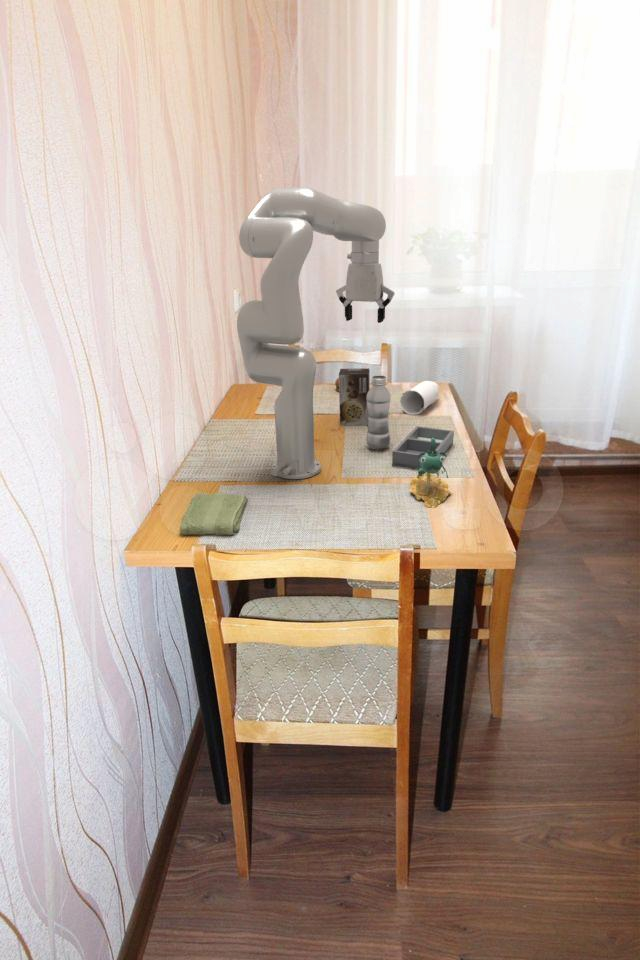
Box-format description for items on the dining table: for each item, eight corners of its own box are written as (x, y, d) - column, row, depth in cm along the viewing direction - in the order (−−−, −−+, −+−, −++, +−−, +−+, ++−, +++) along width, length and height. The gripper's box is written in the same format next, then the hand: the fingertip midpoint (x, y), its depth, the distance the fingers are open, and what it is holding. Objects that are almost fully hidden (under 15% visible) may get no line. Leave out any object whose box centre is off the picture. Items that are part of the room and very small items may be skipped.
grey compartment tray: (432, 472, 163) (432, 457, 161) (392, 465, 167) (392, 451, 165) (453, 444, 179) (453, 430, 178) (416, 439, 184) (416, 426, 182)
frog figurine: (448, 476, 160) (453, 422, 153) (452, 517, 145) (457, 459, 137) (409, 474, 162) (412, 421, 154) (409, 515, 146) (412, 458, 139)
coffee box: (370, 419, 200) (370, 368, 193) (369, 426, 194) (369, 373, 188) (340, 418, 201) (340, 367, 194) (339, 425, 195) (338, 373, 189)
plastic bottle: (394, 449, 177) (396, 378, 168) (372, 453, 174) (372, 381, 166) (383, 442, 182) (385, 372, 174) (361, 445, 180) (362, 375, 172)
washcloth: (249, 501, 151) (248, 488, 150) (237, 538, 135) (236, 525, 134) (194, 501, 152) (192, 488, 150) (175, 538, 136) (174, 525, 134)
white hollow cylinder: (445, 400, 216) (446, 377, 212) (423, 417, 201) (424, 392, 198) (422, 397, 219) (423, 374, 216) (399, 413, 205) (400, 388, 201)
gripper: (331, 259, 180) (331, 321, 187) (390, 260, 173) (388, 325, 180) (341, 256, 186) (341, 317, 193) (399, 258, 179) (397, 320, 186)
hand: (364, 321), depth 186 cm, fingers open, 9 cm apart
